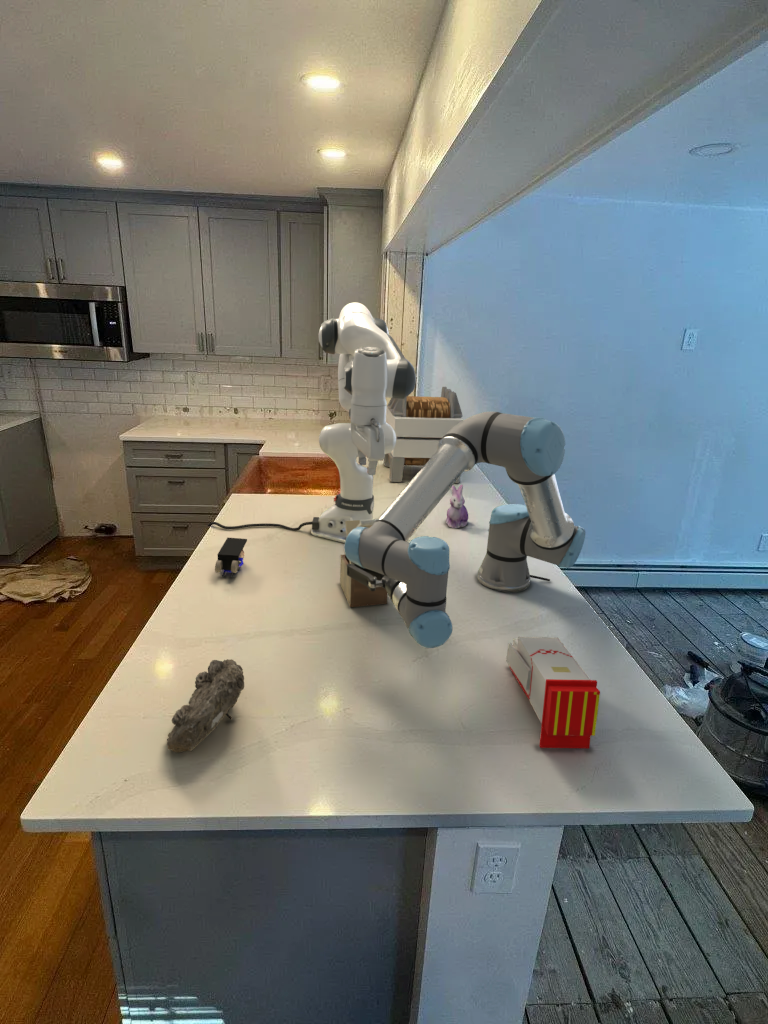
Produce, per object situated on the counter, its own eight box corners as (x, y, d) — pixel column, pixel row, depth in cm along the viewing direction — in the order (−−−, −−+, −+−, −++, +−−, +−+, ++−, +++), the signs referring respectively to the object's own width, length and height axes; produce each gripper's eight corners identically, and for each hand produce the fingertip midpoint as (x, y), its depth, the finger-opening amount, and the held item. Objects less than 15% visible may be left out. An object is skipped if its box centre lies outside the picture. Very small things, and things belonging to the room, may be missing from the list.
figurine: (453, 530, 205) (457, 490, 200) (438, 521, 213) (441, 482, 208) (475, 527, 209) (479, 488, 204) (459, 517, 217) (462, 480, 212)
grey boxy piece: (382, 463, 289) (386, 382, 275) (445, 464, 293) (451, 384, 279) (390, 482, 257) (394, 392, 243) (460, 483, 261) (468, 394, 247)
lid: (345, 521, 150) (350, 513, 143) (381, 519, 153) (389, 511, 145) (350, 574, 147) (357, 568, 139) (388, 570, 150) (396, 565, 142)
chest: (340, 584, 162) (340, 554, 159) (374, 581, 165) (375, 552, 161) (350, 607, 150) (351, 575, 146) (387, 603, 152) (388, 572, 149)
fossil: (192, 660, 117) (244, 628, 112) (224, 691, 120) (276, 661, 115) (142, 746, 98) (202, 712, 93) (182, 779, 101) (242, 748, 96)
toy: (554, 620, 129) (609, 687, 99) (549, 674, 131) (601, 755, 102) (501, 619, 128) (541, 686, 99) (497, 673, 131) (534, 754, 102)
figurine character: (238, 584, 162) (249, 557, 175) (236, 562, 158) (247, 536, 172) (215, 584, 161) (227, 556, 175) (212, 561, 158) (225, 535, 171)
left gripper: (392, 423, 132) (389, 480, 137) (370, 408, 150) (368, 459, 155) (366, 423, 130) (364, 481, 135) (347, 408, 149) (346, 459, 153)
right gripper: (349, 616, 114) (329, 570, 133) (463, 603, 121) (429, 561, 140) (349, 583, 112) (329, 541, 131) (466, 572, 118) (431, 533, 137)
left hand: (366, 469), depth 145 cm, fingers open, 8 cm apart
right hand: (381, 551), depth 135 cm, fingers open, 13 cm apart
